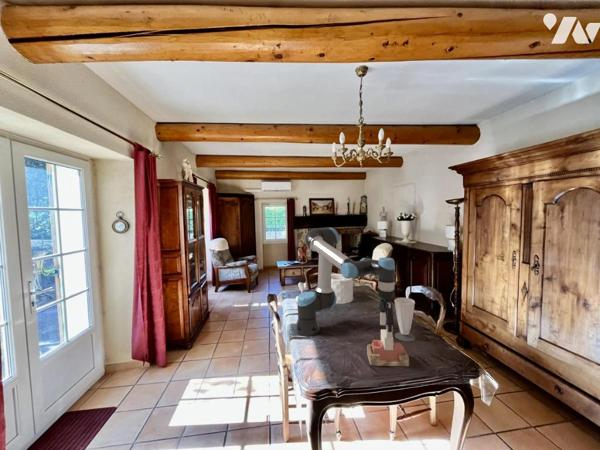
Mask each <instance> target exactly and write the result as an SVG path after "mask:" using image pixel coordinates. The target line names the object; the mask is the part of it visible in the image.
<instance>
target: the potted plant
mask: <svg viewBox="0 0 600 450" xmlns="http://www.w3.org/2000/svg"><path fill="white" fill-rule="evenodd" d="M297 287H298V288H299V291H300V294H301V293H304V290H305V289H306V288H307V282H299V283H298V285H297ZM298 296H299V295H297V296H296V297H295V303H296V305H297V306H298V304H297V301H298Z"/></svg>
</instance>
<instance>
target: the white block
mask: <svg viewBox="0 0 600 450" xmlns="http://www.w3.org/2000/svg"><path fill="white" fill-rule="evenodd" d="M380 340H381V342H382V345H383V347H384V349H385V350H393V341H394V337H393V336H392V338H386V329H384V328H383V329H382V328H381V329H380Z"/></svg>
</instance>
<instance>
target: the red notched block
mask: <svg viewBox="0 0 600 450" xmlns="http://www.w3.org/2000/svg"><path fill="white" fill-rule="evenodd" d="M371 344H372V354H379V356H380V360H390V361H399V355H404V349H405V348H404V349H403V347H404V346H403V345H402V343H401V342H395V341H394V340H393V350H385V349H384V347H383V345H382V342H381V339H380V340H379V339H372V342H371ZM402 346H403V347H402Z"/></svg>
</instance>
